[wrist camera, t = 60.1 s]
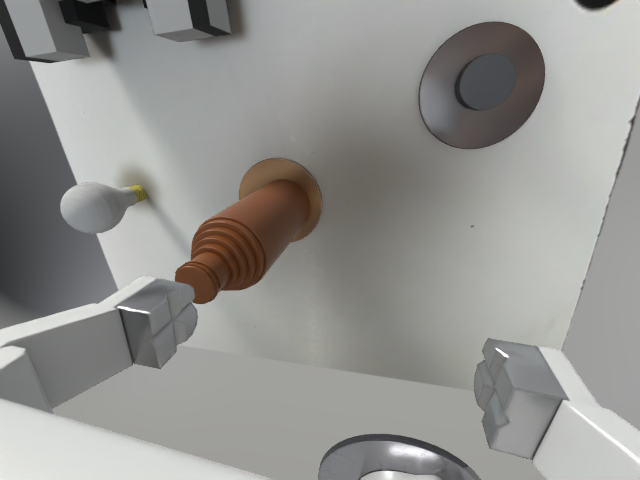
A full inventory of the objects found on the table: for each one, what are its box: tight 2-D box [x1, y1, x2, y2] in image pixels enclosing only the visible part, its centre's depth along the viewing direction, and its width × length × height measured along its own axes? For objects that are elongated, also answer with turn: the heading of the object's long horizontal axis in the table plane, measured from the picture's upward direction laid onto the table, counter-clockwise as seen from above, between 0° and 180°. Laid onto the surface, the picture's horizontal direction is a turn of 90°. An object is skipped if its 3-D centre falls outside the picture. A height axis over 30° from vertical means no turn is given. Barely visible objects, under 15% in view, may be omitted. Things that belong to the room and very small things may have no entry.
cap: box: [455, 53, 516, 111], centre depth 26 cm, size 4×4×2 cm
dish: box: [419, 22, 545, 149], centre depth 27 cm, size 10×10×1 cm
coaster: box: [239, 158, 322, 242], centre depth 36 cm, size 10×10×1 cm
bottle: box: [175, 179, 311, 304], centre depth 28 cm, size 6×6×18 cm
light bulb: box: [61, 183, 146, 233], centre depth 36 cm, size 5×6×10 cm
